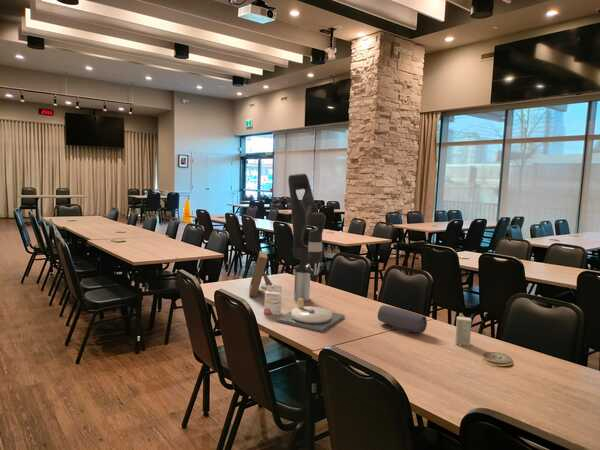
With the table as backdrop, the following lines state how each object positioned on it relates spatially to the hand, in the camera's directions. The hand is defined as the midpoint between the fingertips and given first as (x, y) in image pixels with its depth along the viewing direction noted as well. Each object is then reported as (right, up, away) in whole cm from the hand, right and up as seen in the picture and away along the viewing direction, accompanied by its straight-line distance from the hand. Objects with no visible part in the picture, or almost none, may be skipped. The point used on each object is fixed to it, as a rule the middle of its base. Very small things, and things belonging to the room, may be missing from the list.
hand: (314, 281), depth 225 cm
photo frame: (-32, -12, +38) cm, 52 cm away
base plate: (-2, -18, -9) cm, 21 cm away
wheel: (-2, -17, -10) cm, 19 cm away
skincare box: (+66, -24, -35) cm, 78 cm away
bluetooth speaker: (+42, -21, -18) cm, 51 cm away
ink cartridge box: (-23, -17, -1) cm, 28 cm away
